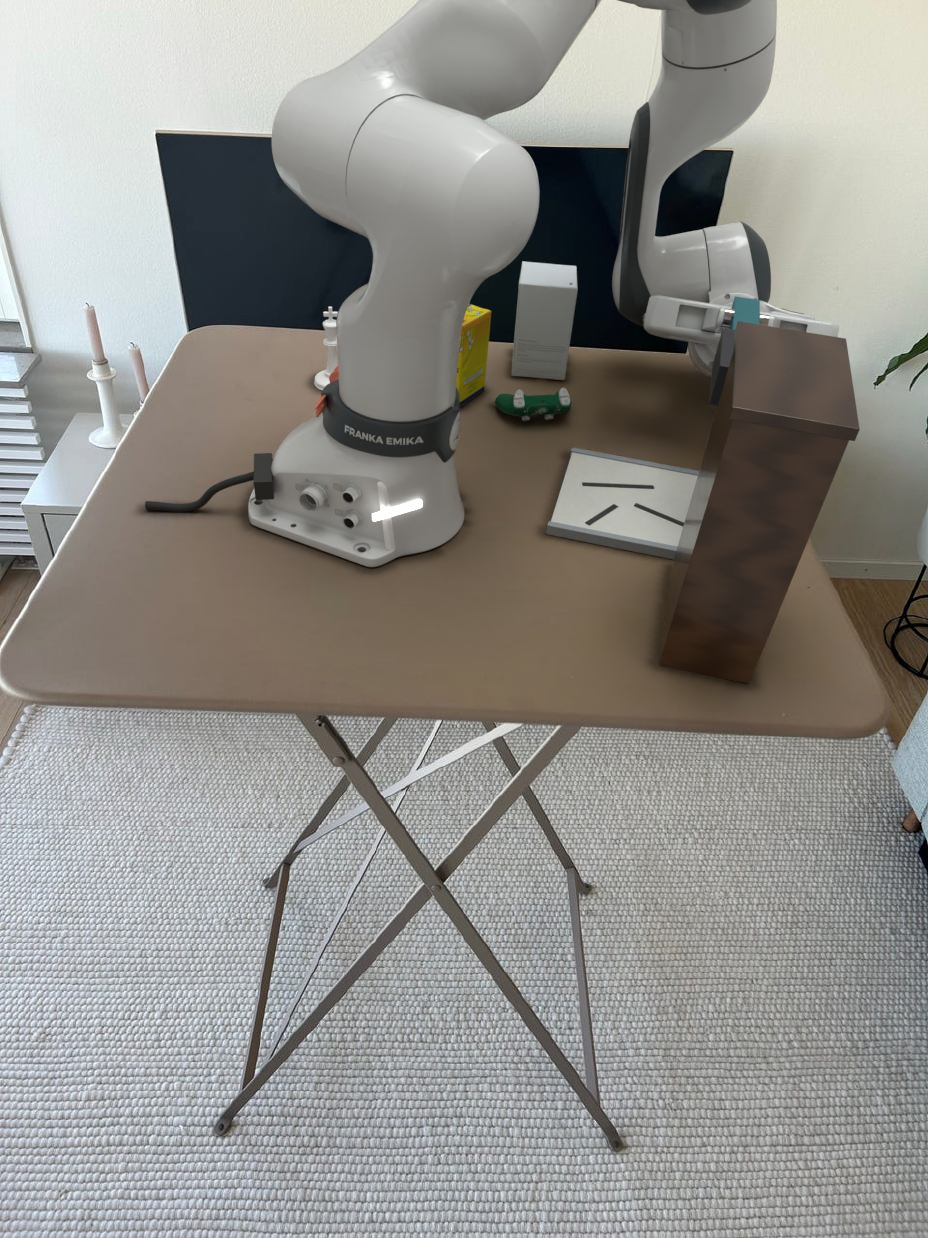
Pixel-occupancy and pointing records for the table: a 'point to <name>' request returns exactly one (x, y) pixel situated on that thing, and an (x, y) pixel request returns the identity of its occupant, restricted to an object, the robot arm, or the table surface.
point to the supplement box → (473, 353)
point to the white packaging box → (544, 320)
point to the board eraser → (730, 343)
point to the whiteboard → (623, 503)
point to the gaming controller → (534, 404)
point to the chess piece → (331, 342)
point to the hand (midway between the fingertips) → (746, 320)
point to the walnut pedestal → (757, 496)
